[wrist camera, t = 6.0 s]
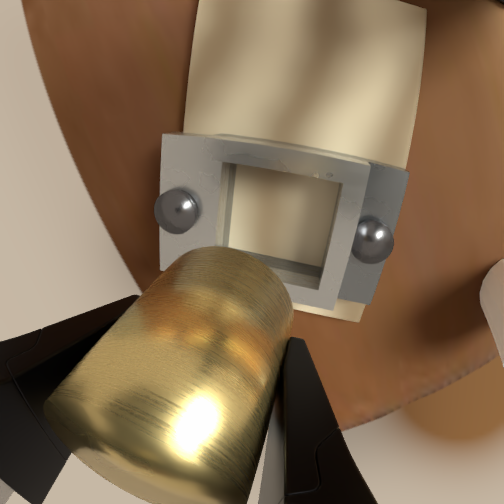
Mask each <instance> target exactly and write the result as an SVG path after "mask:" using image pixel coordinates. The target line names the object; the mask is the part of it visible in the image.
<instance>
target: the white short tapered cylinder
mask: <svg viewBox="0 0 504 504" xmlns="http://www.w3.org/2000/svg"><path fill="white" fill-rule="evenodd" d="M480 305H481V307H482V309H483V312H484V314H485V317H486V319H487V322H488V324H489V327H490V329H491V332H492V335H493V337H494V340H495V343H496V346H497V348H498V351H499V354H500V357H501V360H502V363H503V366H504V259H501V260H500V261H499V262H497V263H496V264H495V265H494V266H493V267H492V268H491V269H490V270H489V272H488V274H487V275H486V277H485V278H484V280H483V282H482V286H481V290H480Z"/></svg>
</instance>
